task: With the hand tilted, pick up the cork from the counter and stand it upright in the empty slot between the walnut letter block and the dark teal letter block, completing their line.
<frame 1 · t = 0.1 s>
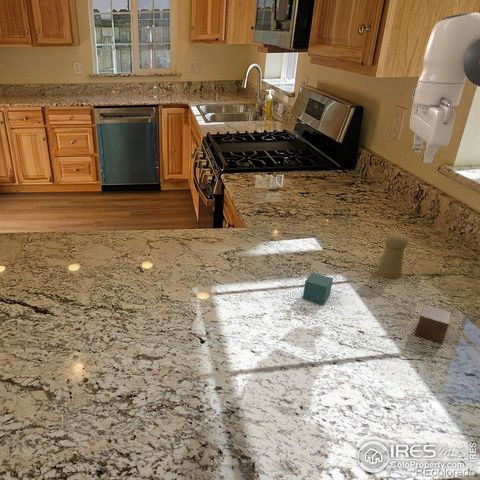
hand: (421, 157, 100), 31 cm above the countertop, tool pointing down, fingers open, 8 cm apart
cork: (388, 273, 113), on the countertop
block walnut: (429, 333, 90), on the countertop
block teal: (316, 297, 103), on the countertop
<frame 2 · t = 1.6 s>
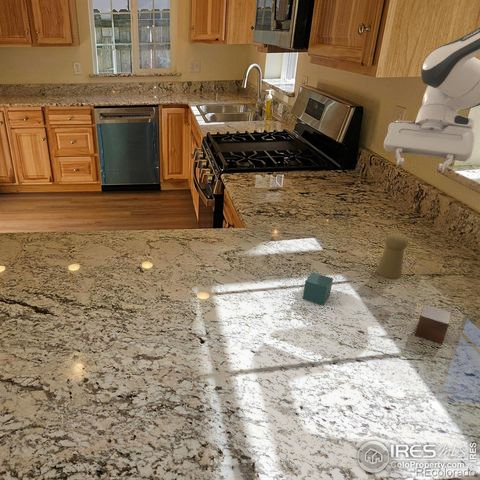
hand: (419, 168, 111), 26 cm above the countertop, tool tilted 45°, fingers open, 8 cm apart
nothing on the countertop moved.
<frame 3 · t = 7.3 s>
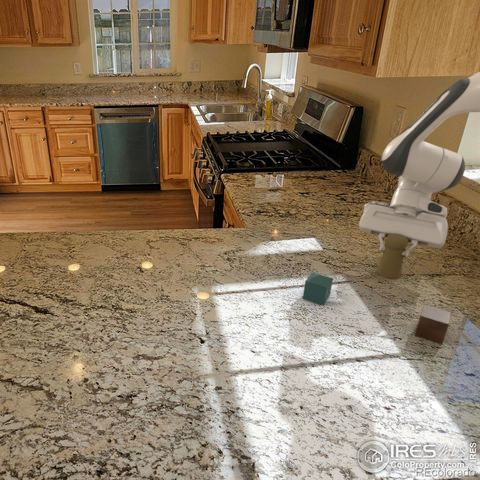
hand: (393, 254, 110), 6 cm above the countertop, tool tilted 45°, fingers closed on cork, 4 cm apart
cork: (388, 273, 113), on the countertop, touching gripper
everything else where it was.
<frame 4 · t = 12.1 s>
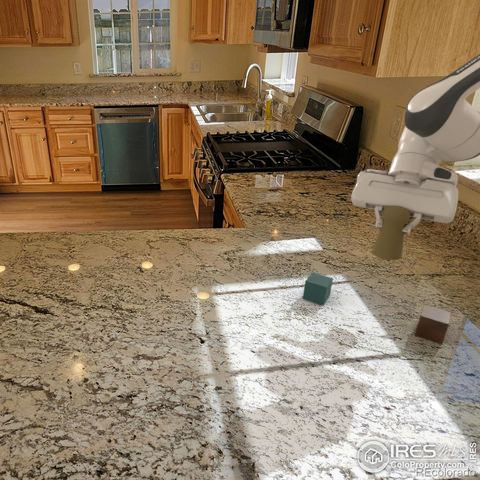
hand: (392, 230, 91), 19 cm above the countertop, tool tilted 45°, fingers closed on cork, 4 cm apart
cork: (386, 254, 94), point 13 cm above the countertop, touching gripper
everything else where it was.
when the fingers open (6 cm above the countertop, at t = 16.8 s): cork stays where it is, on the countertop.
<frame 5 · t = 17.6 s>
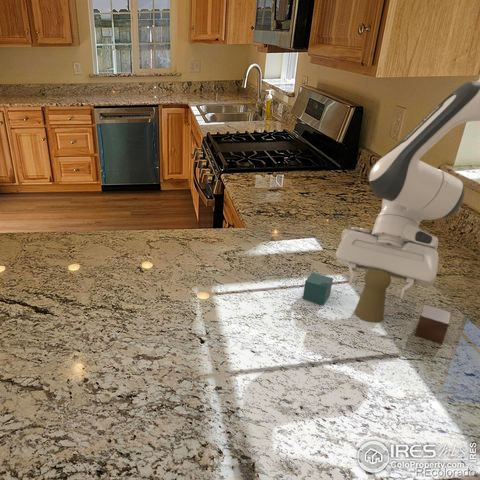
hand: (374, 291, 93), 7 cm above the countertop, tool tilted 45°, fingers open, 8 cm apart
cork: (368, 314, 96), on the countertop
everything else where it was.
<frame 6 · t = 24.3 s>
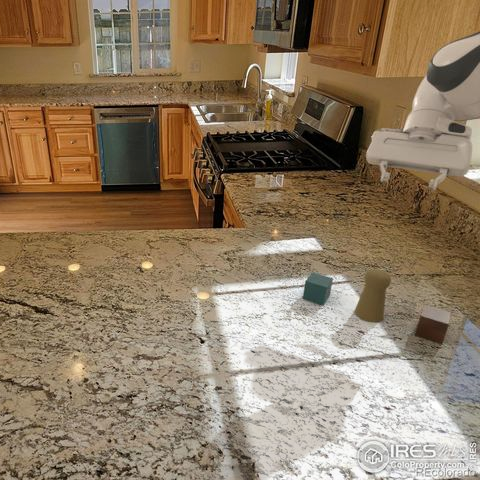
hand: (407, 184, 94), 27 cm above the countertop, tool tilted 45°, fingers open, 8 cm apart
nothing on the countertop moved.
at the end: cork 0.1 cm from the target spot on the countertop beside the block walnut, on the countertop; cork tilted 0°; the gripper is holding nothing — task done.
